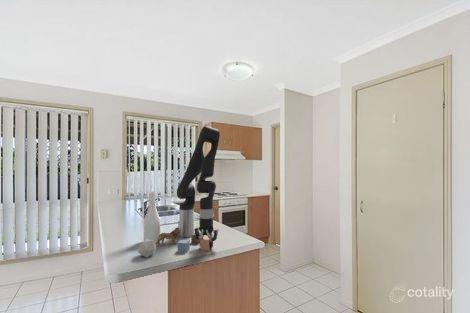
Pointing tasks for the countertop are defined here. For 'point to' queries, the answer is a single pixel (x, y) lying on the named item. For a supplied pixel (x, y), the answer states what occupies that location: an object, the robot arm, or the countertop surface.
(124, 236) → the countertop surface
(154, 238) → the wine bottle
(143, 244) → the grey rounded lump
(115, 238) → the countertop surface
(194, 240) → the walnut cube
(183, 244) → the slate blue cube
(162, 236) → the lion figurine
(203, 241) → the terracotta cube
